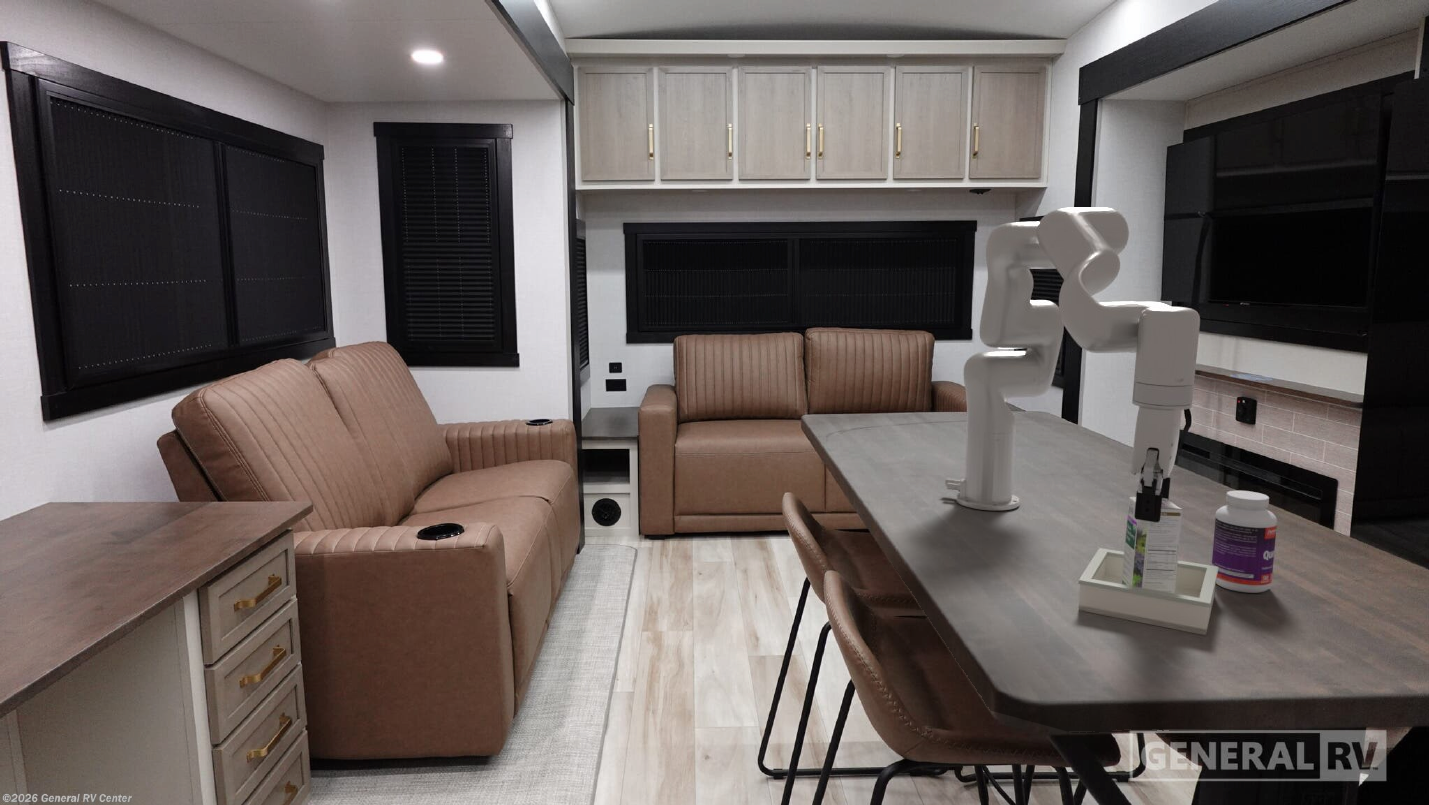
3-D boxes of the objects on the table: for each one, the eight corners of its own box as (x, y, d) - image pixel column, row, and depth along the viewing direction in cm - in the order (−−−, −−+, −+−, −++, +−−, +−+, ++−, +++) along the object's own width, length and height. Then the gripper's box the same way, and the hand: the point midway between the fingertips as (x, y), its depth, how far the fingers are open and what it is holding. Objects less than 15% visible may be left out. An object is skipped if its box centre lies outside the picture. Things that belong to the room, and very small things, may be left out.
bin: (1076, 610, 124) (1078, 580, 123) (1097, 575, 137) (1099, 547, 137) (1207, 636, 115) (1210, 603, 114) (1216, 596, 128) (1218, 566, 128)
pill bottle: (1271, 599, 127) (1280, 505, 125) (1208, 589, 131) (1216, 497, 129) (1270, 582, 134) (1279, 492, 131) (1211, 573, 138) (1218, 485, 136)
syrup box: (1119, 589, 129) (1125, 495, 127) (1161, 590, 129) (1168, 496, 126) (1133, 603, 124) (1140, 506, 122) (1176, 605, 123) (1184, 507, 121)
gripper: (1141, 383, 130) (1132, 492, 134) (1123, 402, 116) (1113, 523, 119) (1198, 388, 126) (1186, 500, 130) (1186, 407, 112) (1174, 532, 115)
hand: (1151, 511), depth 124 cm, fingers open, 9 cm apart
